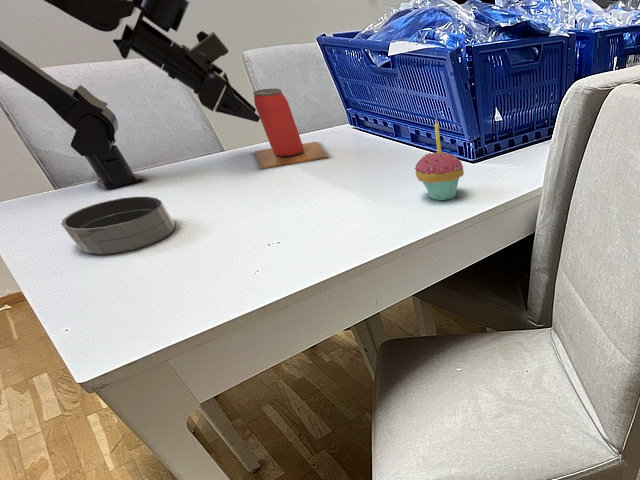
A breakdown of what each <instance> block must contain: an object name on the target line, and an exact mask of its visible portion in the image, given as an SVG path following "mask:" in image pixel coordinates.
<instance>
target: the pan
mask: <svg viewBox="0 0 640 480" xmlns="http://www.w3.org/2000/svg"><path fill="white" fill-rule="evenodd" d="M60 225H61V226H62V228H63V229H64V230H65V232H66V233H67V234H68V235H69V237H70V238H71V240H72V241H73V243H75V245H76V246H77V247H78V249H80V251H82V252H84V253H87V254H96V255H111V254H119V253H120V254H121V253H126V252H129V251H133V250H134V251H135V250H139V249H141V248H145V247H147V246H151V245H152V244H156V243H157V242H160V241H161V240H163V239H165V238H166V237H167V236H168V235H170V234H171V233H172V232H173V230H174V229H175V222H174V220H173V219H172V217H171V215H170V214H169V212H168V210H167V209H166V207H165V205H164V203H163V202H162V200H160V199H158V198H157V197H150V196H131V197H121V198H115V199H111V200H105V201H102V202H98V203H97V202H96V203H94V204H91V205H89V206H86V207H82V208H80V209H78V210H76V211H73V212H71V213H70V214H68V215H67V216H66V217H64V218H63V219H62V220H61V223H60Z"/></svg>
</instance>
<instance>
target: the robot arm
mask: <svg viewBox="0 0 640 480" xmlns="http://www.w3.org/2000/svg"><path fill="white" fill-rule="evenodd" d="M43 1H44V2H46V3H47V4H49V5H51V6H53V7H55V8H57V9H58V10H60V11H61V12H64V13H65V14H66V15H69V16H70V17H72V18H74V19H76V20H78V21H80V22H81V23H83V24H85V25H87V26H89V27H91V28H93V29H94V30H97V31H100V32H104V33H109V32H110V33H111V32H112V31H115V30H117V29H118V28H120V27H121V25H122V24H123V19H125V18H129V17H131V16H133V15H134V14H136V12H137V9H138V10H140V12H139V15H138V17H137V20H136V22H135V25H134V26H132V25H130V24H128V23H125V26H124V28H123V31H122V34H121V37H120V38H113V40H112V42H113V43H114V45H115V46H116V47H117V49H118V52H119V53H120V57H121V58H122V59H125V60H127V58H128V57H129V56H130V53H131V51H132V52H134V53H135V54H137V55H138V56H140V57H141V58H143V59H144V60H146V61H147V62H149V63H151V64H152V65H154V66H155V67H156V68H158V69H159V70H161V71H163V72H164V73H166V74H167V77H169V78H170V79H172V80H177V81H178V82H180V83H181V84H183V85H184V86H185V87H188V88H189V89H190V90H192V91H193V94H196V95H197V98H198V100H199V102H200V105H202V106H203V107H204V108H207V109H208V110H210V111H211V112H216V113H221V114H224V115H229V116H232V117H237V118H240V119H243V120H246V121H247V120H248V121H251V122H254V123H259V121H260V120H261V119H260V117H259V114H258V113H256V112H257V109H256V107H254V106H253V105H252V104H251V103H250V102H249V101H248V100H247V99H246V98H245V97H244V96H243V95H242V94H241V93H240V92H238V90H236V89H235V88H234V87H233V86H232V85H231V83H230V80H229V78H228V75H227V73H226V72H225V71H224V70H223V68H222V67H220V66H218V64H216V63H214V62H215V61H217V60H218V59H219V58H221V57H225V56H226V55H227V54H228V53H229V51H230V50H229V49H228V47H227V46H226V45H225V44H224V42H222V40H221V39H220V38H219V36H218V35H217V34H216V33H215V31H213V32H210V33H209V34H208V33H206V32H205V31H204V30H200V31H199V32H198V33H197V34H196V35H195V36H196V39H197V41H198V43H195V44H194V46H193V47H191V48H190V47H188V46H186V45H185V44H179V43H177V42H176V41H174V40H173V39H172V38H170V37H168V36H167V35H166V34H164V33H163V32H162V31H164V32H166V33H169V32H170V30H173V31H174V32H179V29H180V27H181V24H182V22H183V20H184V17H185V15H186V12H187V10H188V7H189V5H190V1H188V0H43ZM144 18H145V19H147V20H148V21H149V22H151V23H152V24H154V25H155V26H157V27H158V28H159V29H161V30H162V31H160V30H158V29H157V28H156V27H154V26H153V25H151V24H150V23H149V22H148V21H146V20H144ZM0 72H1V73H2V74H4V76H5V75H6V76H7V77H8V78H9V79H12V80H13V81H14V82H16V83H17V84H18V85H20V86H22V87H23V88H24V89H26V90H27V91H29V92H30V93H32V94H34V95H35V96H36V97H38V98H39V99H41V100H42V101H44V102H45V103H46V104H47V105H48V106H49V107H50V108H51V109H52V110H53V111H54V112H55V113H56V115H58V116H59V117H60V118H61V119H62V120H63V121H64V122H65V123H66V124H67V125H69V126H70V128H73V130H75V132H74V135H73V137H72V140H71V142H70V147H71V148H72V149H73V150H74V151H76V153H78V154H79V155H80V157H84V158H85V159H86V160H87V162H88V164H89V165H90V167H91V168H92V170H93V172H94V173H95V174H96V176H97V177H98V179H97V180H96V183H97V184H98V185H100V186H101V187H103V188H104V189H106V190H110V189H115V188H119V187H122V186H126V185H130V184H135V183H138V182H142V181H143V178H142V177H141V176H139V175H138V174H136V173H134V172H133V170H132V169H131V166H130V164H128V162H127V161H126V159H125V156H123V153H121V150H120V149H119V147H118V146H117V145H116V143H117V142H116V137H115V136H116V133H117V131H118V130H119V121H118V118H117V117H116V115H115V113H114V112H113V111H112V110H111V109H110V108H109V107H108V102H107V101H103V100H102V99H99V98H98V97H96V96H95V95H93V93H91V92H90V91H89V90H88V89H87V88H86V87H84V86H83V85H81V84H80V85H78V87H76V88H75V89H74V88H72V87H70V86H68V85H65V84H63V83H61V82H60V81H58V80H57V79H56V78H54V77H52V75H50V74H49V73H47V72H46V71H44V70H43V69H42V68H40V67H39V66H37V65H36V64H34V63H33V62H31V61H30V60H29V59H27V58H26V57H25V56H23V55H22V54H21V53H19V52H17V51H16V50H14V48H12V47H11V46H10V45H8V44H6V43H5V42H4V41H2V40H1V39H0ZM221 74H222V75H221Z"/></svg>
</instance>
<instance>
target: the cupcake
mask: <svg viewBox="0 0 640 480" xmlns="http://www.w3.org/2000/svg"><path fill="white" fill-rule="evenodd" d="M434 132H435V142H436V150H437V151H436V152H432V153H431V152H428V153H426V154H424V156H422V157H421V158H420V159H419V160H418V162H416V165H415V168H414V170H415V177H416V178H417V180H418V181H419V182H422V183H423V185H424V187H425V189H426V191H427V193H428V195H429V197H430V198H431V199H433V200H435V201H445V200H446V201H447V200H450V199H453V198H455V197H456V196H457V190H458V184H459V180H460V178H461V177H463V176H464V175H465V172H464V166H463V164H462V161H461V160H460V159H458V157H457V156H455V155H453V154H451V153H447V152H444V151H442V145H441V137H440V126H439V123H438V118H437V117H435V123H434Z"/></svg>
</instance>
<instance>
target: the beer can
mask: <svg viewBox="0 0 640 480" xmlns="http://www.w3.org/2000/svg"><path fill="white" fill-rule="evenodd" d="M252 94H253V102H254V106H255V109H256V112H257V115H258V116H259V117H260V119H259V120H260V122H261V124H262V127H263V129H264V132H265V135H266V138H267V140H268V142H269V145H270V146H271V148H270V149H272V150H273V153H274V154H275V155H277V156H279V157H291V156H296V155H299V154H301V153H302V152H303V151H304V148H303V145H302V144H303V142H302V139H301V137H300V133H299V130H298V127H297V124H296V122H295V119H294V116H293V113H292V110H291V107H290V105H289V102H288V100H287V98H286V96H285V95H284V94H283V92H282V89H280V88H263V89H257V90H255V91H253V92H252Z"/></svg>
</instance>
